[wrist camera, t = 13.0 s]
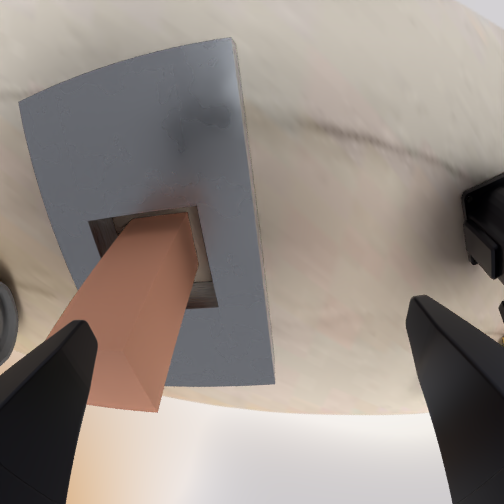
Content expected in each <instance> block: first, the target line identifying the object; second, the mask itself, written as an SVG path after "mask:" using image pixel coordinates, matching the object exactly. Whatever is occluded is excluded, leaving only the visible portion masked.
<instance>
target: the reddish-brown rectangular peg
mask: <svg viewBox="0 0 504 504" xmlns="http://www.w3.org/2000/svg"><path fill="white" fill-rule="evenodd" d="M198 266H199V263H198V259H197V254H196V250H195V245H194V241H193V236H192V231H191V227H190V222H189V217H188V212H184V213H176V214H167V215H159V216H151V217H143V218H135V219H132V220H131V221H130V222H129V223H128V225H127V226H126V227H125V228H124V230H123V231H122V232H121V233H120V235H119V236H118V237H117V239H116V240H115V241H114V242H113V244H112V245H111V246H110V248H109V249H108V250H107V252H106V253H105V254H104V256H103V257H102V258H101V260H100V261H99V262H98V264H97V265H96V266H95V268H94V269H93V270H92V272H91V273H90V275H89V276H88V277H87V279H86V280H85V282H84V283H83V284H82V286H81V287H80V289H79V290H78V291H77V293H76V294H75V296H74V297H73V299H72V300H71V302H70V303H69V305H68V306H67V308H66V309H65V311H64V312H63V314H62V315H61V317H60V318H59V320H58V321H57V323H56V324H55V326H54V327H53V329H52V331H51V332H50V334H49V335H48V337H47V339H48V338H50V337H51V336H52V335H54V334H55V333H56V332H58V331H59V330H60V329H62V328H63V327H64V326H66V325H67V324H69V323H70V322H71V321H73V320H86V321H87V322H88V324H89V326H90V328H91V329H92V331H93V333H94V335H95V337H96V339H97V342H98V350H97V355H96V360H95V365H94V371H93V376H92V382H91V388H90V392H89V396H88V400H87V405H93V406H101V407H108V408H115V409H124V410H134V411H145V412H158V409H159V405H160V401H161V397H162V393H163V389H164V385H165V382H166V378H167V374H168V370H169V367H170V363H171V359H172V355H173V352H174V348H175V345H176V341H177V337H178V334H179V330H180V327H181V323H182V320H183V316H184V313H185V309H186V306H187V302H188V299H189V296H190V292H191V289H192V286H193V282H194V279H195V276H196V272H197V269H198ZM47 339H46V340H47ZM46 340H45V341H46Z"/></svg>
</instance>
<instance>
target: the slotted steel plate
mask: <svg viewBox="0 0 504 504" xmlns="http://www.w3.org/2000/svg"><path fill="white" fill-rule="evenodd" d="M19 108H20V113H21V118H22V123H23V128H24V132H25V137H26V141H27V145H28V149H29V153H30V157H31V161H32V165H33V168H34V172H35V175H36V179H37V182H38V186H39V189H40V192H41V195H42V199H43V202H44V205H45V208H46V211H47V214H48V217H49V219H50V222H51V225H52V228H53V231H54V233H55V236H56V239H57V241H58V244H59V247H60V249H61V252H62V254H63V257H64V259H65V262H66V264H67V266H68V269H69V271H70V273H71V276H72V278H73V280H74V283H75V285H76V287H77V289H78V290H79V289H80V287H81V286H82V284H83V283H84V282H85V280H86V279H87V277H88V276H89V275H90V273H91V272H92V270H93V269H94V268H95V266H96V265H97V264H98V262H99V261H100V260H101V258H102V257H103V256H104V254H105V253H106V252H107V250H108V249H109V248H110V246H111V245H112V244H113V242H114V241H115V240H116V239H117V237H118V236H117V233H116V230H115V227H114V223H113V220H112V217H117V216H123V215H130V214H137V213H144V212H151V211H159V210H166V209H174V208H181V207H189V206H197V209H198V214H199V219H200V224H201V229H202V233H203V238H204V243H205V248H206V252H207V257H208V262H209V266H210V271H211V275H212V280H213V281H211V282H197V283H193V286H192V289H191V292H190V296H189V299H188V302H187V306H186V309H185V313H184V316H183V320H182V323H181V327H180V330H179V334H178V337H177V341H176V345H175V348H174V352H173V355H172V359H171V363H170V367H169V370H168V374H167V378H166V382H165V385H164V386H187V387H215V386H250V385H269V384H275V358H274V348H273V339H272V331H271V322H270V313H269V304H268V296H267V287H266V279H265V270H264V262H263V253H262V245H261V236H260V228H259V220H258V212H257V204H256V195H255V187H254V179H253V171H252V163H251V155H250V148H249V140H248V132H247V124H246V116H245V109H244V101H243V93H242V86H241V78H240V71H239V63H238V56H237V48H236V43H235V42H234V41H233V39H232V38H231V37H230V38H223V39H217V40H210V41H205V42H199V43H194V44H189V45H184V46H179V47H174V48H170V49H166V50H161V51H157V52H153V53H149V54H146V55H142V56H138V57H135V58H131V59H128V60H124V61H121V62H118V63H115V64H111V65H108V66H105V67H102V68H99V69H96V70H93V71H91V72H88V73H85V74H82V75H80V76H77V77H74V78H72V79H69V80H67V81H64V82H62V83H59V84H57V85H55V86H52V87H50V88H48V89H45V90H43V91H41V92H39V93H36V94H34V95H32V96H30V97H28V98H26V99H24V100H22V101H20V102H19Z"/></svg>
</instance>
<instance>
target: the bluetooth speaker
mask: <svg viewBox="0 0 504 504" xmlns="http://www.w3.org/2000/svg"><path fill="white" fill-rule="evenodd" d="M17 332H18V313H17V308H16V305H15V302H14V298H13V296H12V293H11V291H10V289H9V288H8V287H7V286H6V285H5V284H4V283H2V282H0V366H1V365H2V364H3V363H4V362H5V361H6V360H7V359H8V358H9V356H10V355H11V353H12V351H13V348H14V345H15V342H16V337H17Z"/></svg>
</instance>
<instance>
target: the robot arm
mask: <svg viewBox="0 0 504 504" xmlns="http://www.w3.org/2000/svg"><path fill="white" fill-rule="evenodd" d="M468 196H469V199H468V200H467V198H468ZM461 200H462V206H463V213H464V220H465V221H464V224H463V226H464V233H465V242H466V250H467V251H468V254H469V261H470V262H471V263H472V264H473V265H476V264H479V265H480V266H481V267H482V268H483V269H484V271H485V272H486V273H487V274H488V275H489V276H490V278H492V279H496V278H498V279H499V280H500V281H501V282H502V284H503V285H504V174H502V175H500V176H497V177H495V178H493V179H491V180H489V181H487V182H484V183H482V184H480V185H478V186H476V187H474V188H471V189H469V190H467V191H465V192H464V193H463V194H462V197H461ZM499 311H500V314H501V317H502V319H503V322H504V301H502V302H501V304H500V306H499ZM406 329H407V333H408V337H409V341H410V345H411V350H412V354H413V358H414V363H415V367H416V371H417V375H418V379H419V382H420V385H421V388H422V391H423V394H424V397H425V400H426V403H427V407H428V410H429V413H430V416H431V420H432V423H433V426H434V429H435V433H436V437H437V441H438V444H439V448H440V452H441V455H442V459H443V463H444V467H445V471H446V476H447V480H448V484H449V489H450V493H451V498H452V503H453V504H504V347H503V346H502V345H500V344H499V343H497V342H496V341H494V340H493V339H492V338H490V337H489V336H487V335H486V334H484V333H483V332H481V331H480V330H479V329H477V328H476V327H474V326H473V325H471V324H470V323H468V322H467V321H465V320H464V319H462V318H461V317H459V316H458V315H456V314H455V313H453V312H452V311H450V310H449V309H447V308H446V307H444V306H443V305H441V304H440V303H438V302H437V301H435V300H433V299H432V298H430V297H429V296H427V295H419V296H413V297H412V298H411V300H410V304H409V308H408V313H407V317H406ZM97 350H98V342H97V339H96V337H95V335H94V333H93V331H92V329H91V328H90V326H89V324H88V322H87V321H86V320H73V321H71V322H70V323H69V324H67V325H66V326H64V327H63V328H62V329H60V330H59V331H58V332H56V333H55V334H54V335H52V336H51V337H50V338H48V339H47V340H46V341H44V342H43V343H42V344H40V345H39V346H38V347H36V348H35V349H34V350H32V351H31V352H30V353H28V354H27V355H26V356H25V357H23V358H22V359H21V360H19V361H18V362H17V363H15V364H14V365H13V366H12V367H10V368H9V369H8V370H7V371H5V372H4V373H3V374H1V375H0V504H66V498H67V492H68V487H69V481H70V475H71V470H72V465H73V460H74V455H75V450H76V445H77V441H78V436H79V432H80V428H81V424H82V420H83V416H84V412H85V408H86V404H87V400H88V396H89V392H90V388H91V382H92V376H93V371H94V365H95V360H96V355H97Z"/></svg>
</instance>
